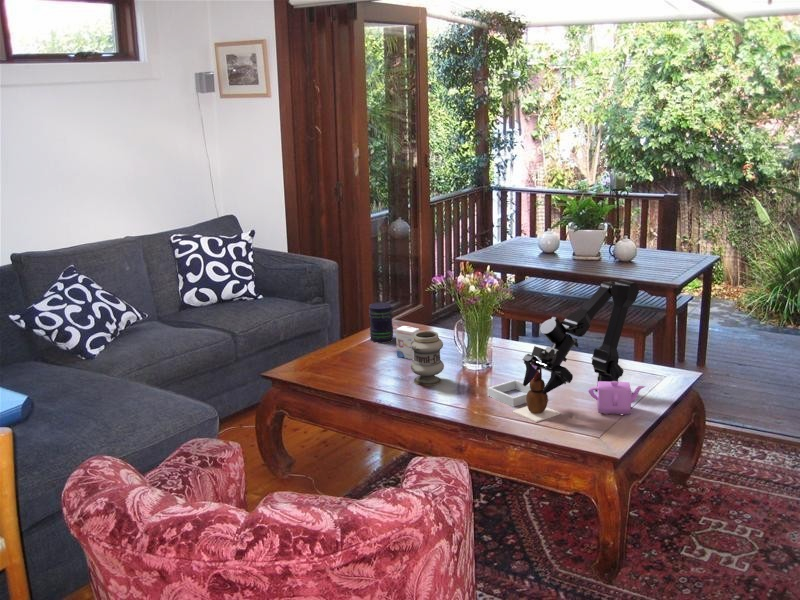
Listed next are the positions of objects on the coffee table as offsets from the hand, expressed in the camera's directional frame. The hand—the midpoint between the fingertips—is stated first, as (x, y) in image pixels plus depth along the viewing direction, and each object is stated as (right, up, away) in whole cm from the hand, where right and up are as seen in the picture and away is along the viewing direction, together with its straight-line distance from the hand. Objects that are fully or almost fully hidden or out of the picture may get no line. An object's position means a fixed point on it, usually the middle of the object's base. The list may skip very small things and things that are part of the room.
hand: (533, 389), depth 278 cm
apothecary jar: (-33, -1, +35) cm, 48 cm away
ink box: (-40, +6, +62) cm, 74 cm away
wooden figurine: (+2, -8, +3) cm, 8 cm away
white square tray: (-4, -4, +17) cm, 18 cm away
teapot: (+27, -8, +3) cm, 29 cm away
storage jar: (-51, +12, +86) cm, 101 cm away
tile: (+1, -8, +3) cm, 9 cm away
